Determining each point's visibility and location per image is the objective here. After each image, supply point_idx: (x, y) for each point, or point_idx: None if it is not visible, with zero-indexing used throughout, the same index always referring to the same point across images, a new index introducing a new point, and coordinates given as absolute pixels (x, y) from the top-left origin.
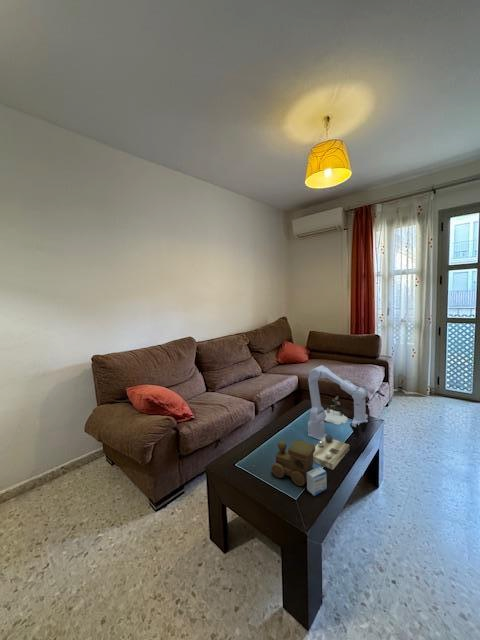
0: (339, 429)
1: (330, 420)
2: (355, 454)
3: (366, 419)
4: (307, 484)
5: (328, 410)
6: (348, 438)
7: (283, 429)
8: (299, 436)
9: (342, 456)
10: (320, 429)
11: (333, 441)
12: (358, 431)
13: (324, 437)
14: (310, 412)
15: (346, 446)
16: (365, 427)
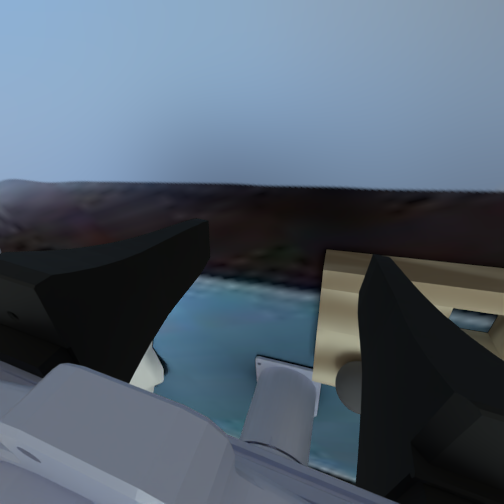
0: (172, 318)
1: (149, 360)
2: (364, 204)
3: (11, 321)
4: None
5: None
6: (213, 275)
7: (325, 468)
8: (342, 433)
9: (470, 271)
10: (299, 425)
11: (342, 347)
12: (471, 346)
13: (325, 383)
14: None
15: (361, 280)
16: (163, 248)
